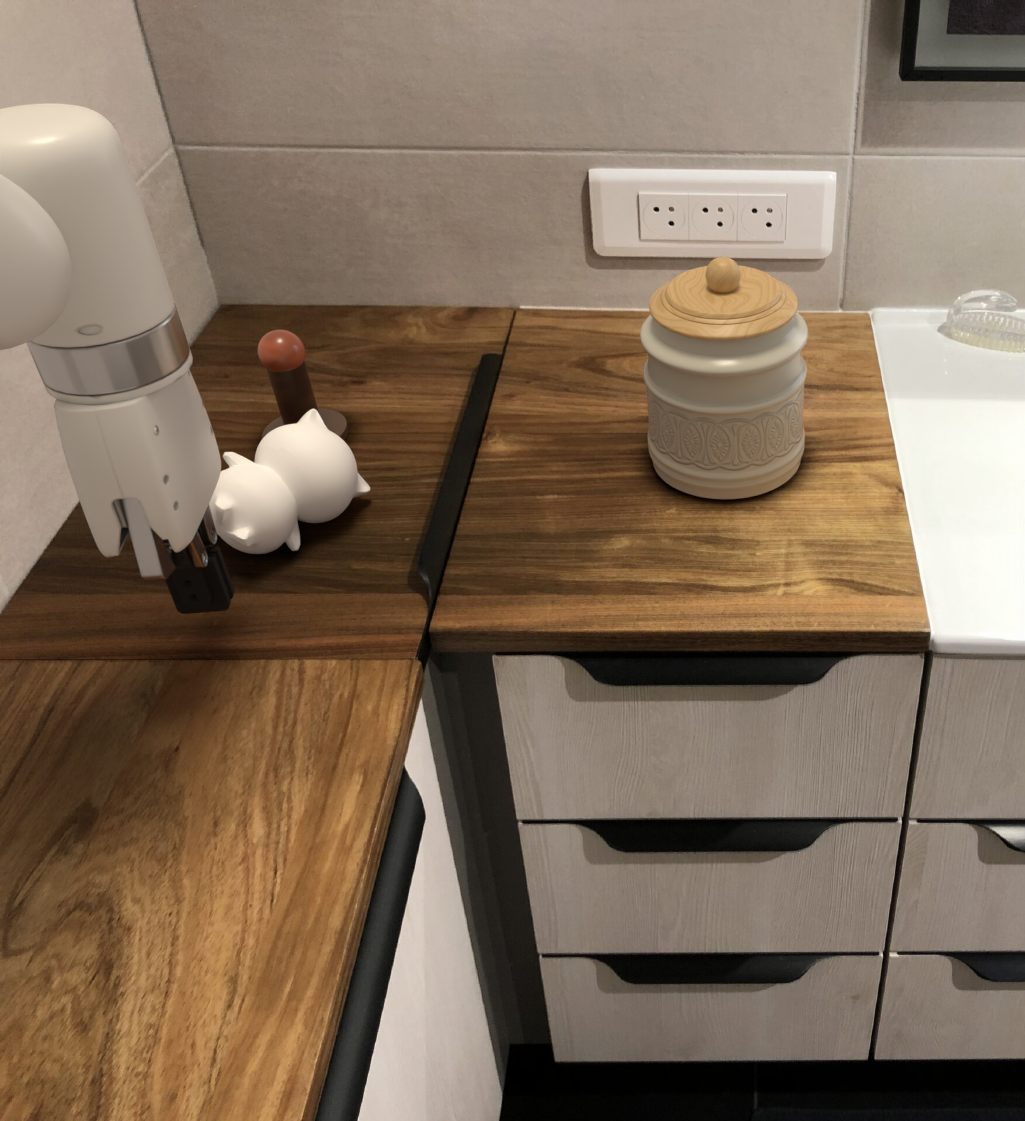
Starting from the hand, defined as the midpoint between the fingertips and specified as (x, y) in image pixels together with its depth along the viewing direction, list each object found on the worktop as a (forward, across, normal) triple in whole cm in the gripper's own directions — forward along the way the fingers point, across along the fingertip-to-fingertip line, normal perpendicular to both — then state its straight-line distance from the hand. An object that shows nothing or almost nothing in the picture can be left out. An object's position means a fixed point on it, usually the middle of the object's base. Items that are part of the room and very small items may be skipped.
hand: (207, 603), depth 73 cm
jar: (+4, -19, +36) cm, 41 cm away
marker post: (+4, -28, +1) cm, 28 cm away
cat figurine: (+5, -15, +1) cm, 15 cm away
